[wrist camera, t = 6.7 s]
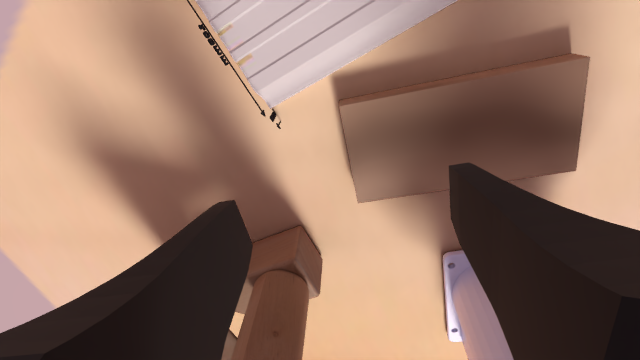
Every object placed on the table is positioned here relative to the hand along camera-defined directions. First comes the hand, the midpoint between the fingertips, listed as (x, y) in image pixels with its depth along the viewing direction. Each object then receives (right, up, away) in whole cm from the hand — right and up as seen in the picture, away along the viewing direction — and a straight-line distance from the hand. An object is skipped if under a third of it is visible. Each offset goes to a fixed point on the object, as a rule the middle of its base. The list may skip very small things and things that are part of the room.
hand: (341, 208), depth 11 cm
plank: (+7, +4, +8) cm, 11 cm away
